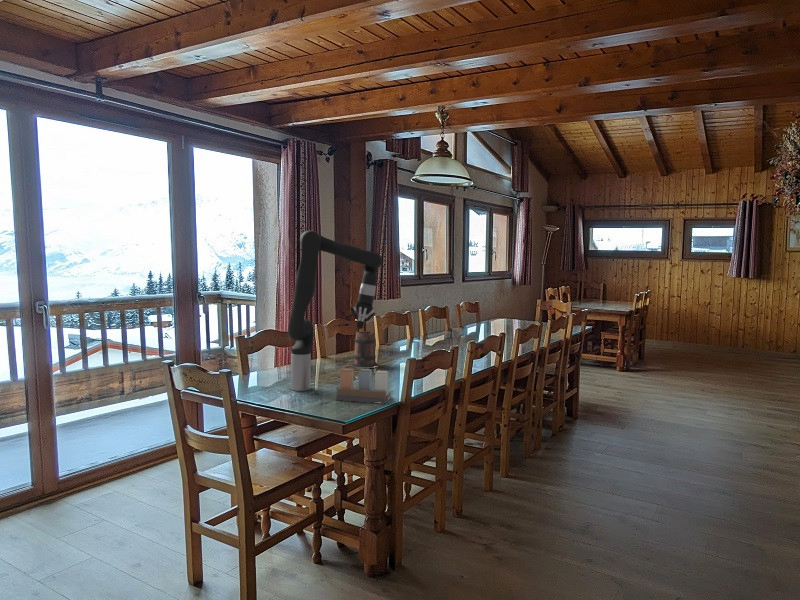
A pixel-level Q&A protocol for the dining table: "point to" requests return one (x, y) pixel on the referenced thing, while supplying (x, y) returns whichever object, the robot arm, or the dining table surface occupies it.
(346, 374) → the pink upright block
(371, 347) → the tankard
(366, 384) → the blue-grey key
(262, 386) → the dining table surface
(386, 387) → the cream key
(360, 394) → the key bed
